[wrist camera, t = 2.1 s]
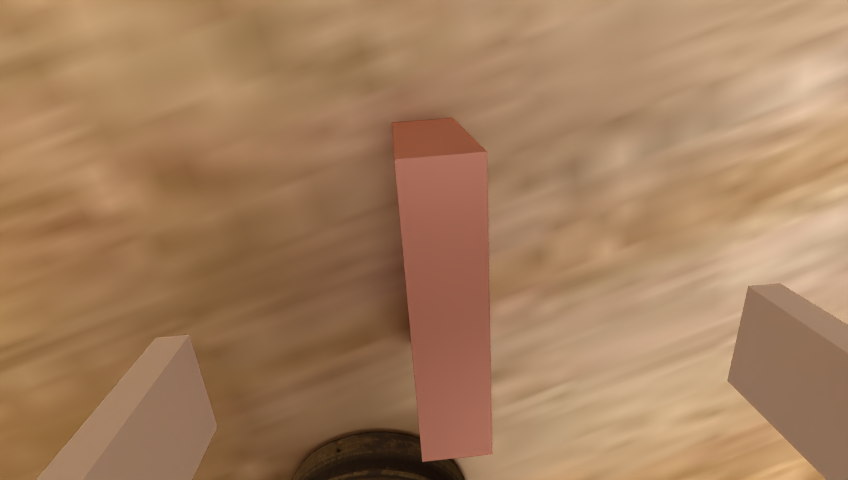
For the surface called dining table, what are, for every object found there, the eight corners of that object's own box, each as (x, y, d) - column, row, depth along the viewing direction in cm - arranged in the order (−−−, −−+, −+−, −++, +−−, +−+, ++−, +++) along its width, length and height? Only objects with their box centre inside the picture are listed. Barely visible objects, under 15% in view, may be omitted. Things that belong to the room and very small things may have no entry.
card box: (412, 342, 21) (422, 461, 14) (391, 122, 17) (394, 159, 11) (461, 337, 21) (492, 454, 15) (452, 117, 17) (487, 151, 11)
